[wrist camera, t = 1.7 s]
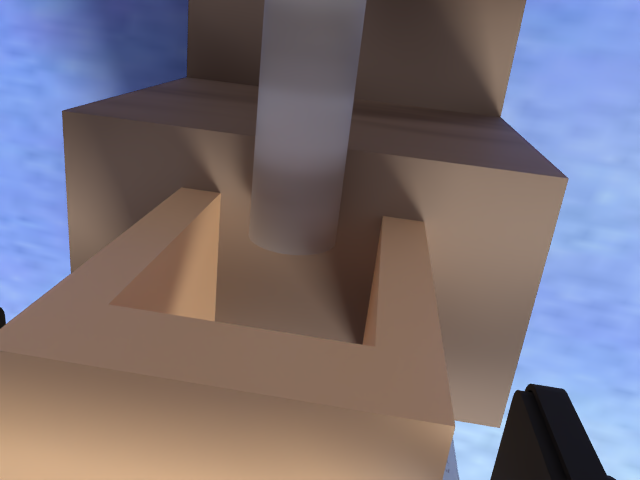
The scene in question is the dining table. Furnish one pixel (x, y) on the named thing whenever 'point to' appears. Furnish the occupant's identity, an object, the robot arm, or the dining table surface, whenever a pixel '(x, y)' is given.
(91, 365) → the cord clip
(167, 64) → the dining table surface
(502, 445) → the robot arm
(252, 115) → the rod slider mechanism
